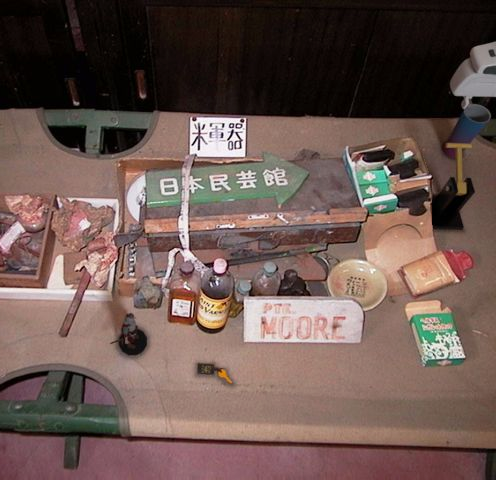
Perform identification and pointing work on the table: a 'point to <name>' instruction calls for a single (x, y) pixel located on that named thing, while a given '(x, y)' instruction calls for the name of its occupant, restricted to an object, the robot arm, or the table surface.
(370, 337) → the table surface
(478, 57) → the robot arm
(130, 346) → the figurine
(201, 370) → the key tag
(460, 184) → the lever
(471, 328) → the table surface
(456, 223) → the black slotted stand
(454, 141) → the cup
